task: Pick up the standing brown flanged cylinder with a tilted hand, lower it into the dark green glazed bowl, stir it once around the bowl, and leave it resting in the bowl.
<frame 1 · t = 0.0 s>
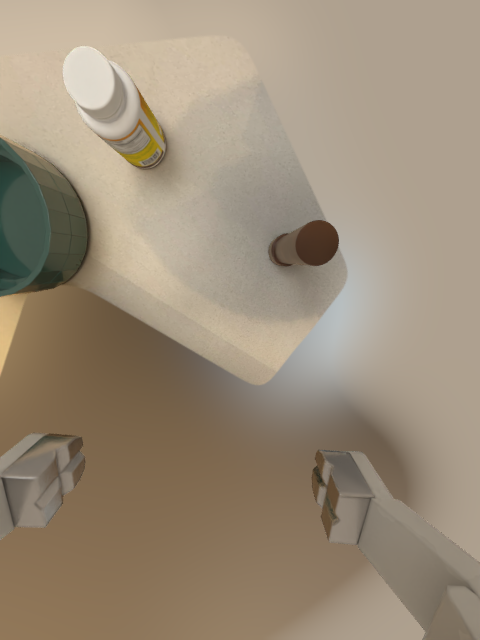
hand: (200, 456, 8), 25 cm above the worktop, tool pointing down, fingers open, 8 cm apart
bowl: (23, 224, 29), on the worktop
brown flanged cylinder: (282, 251, 30), on the worktop
supplement bottle: (144, 145, 27), on the worktop
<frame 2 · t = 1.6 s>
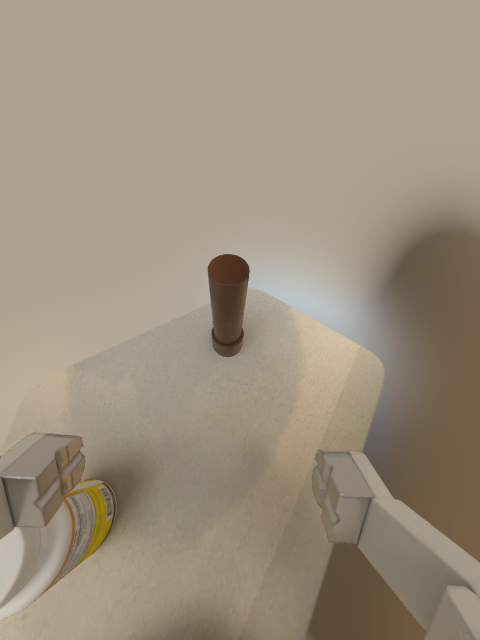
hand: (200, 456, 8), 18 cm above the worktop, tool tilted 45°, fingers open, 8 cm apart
brown flanged cylinder: (227, 343, 29), on the worktop
supplement bottle: (88, 515, 20), on the worktop
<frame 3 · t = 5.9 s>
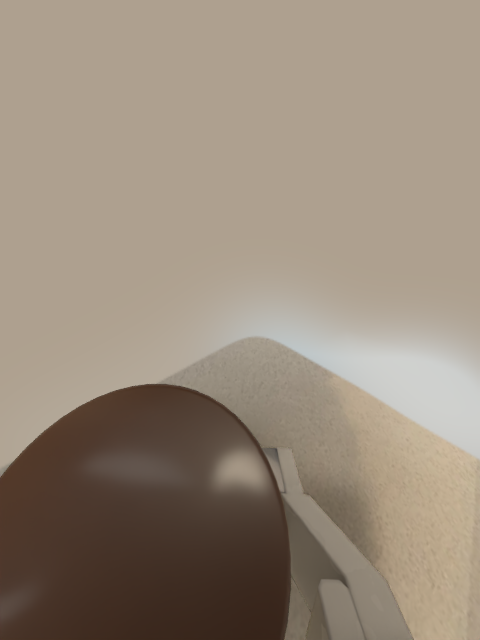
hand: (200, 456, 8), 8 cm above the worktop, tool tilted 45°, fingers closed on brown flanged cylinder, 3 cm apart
brown flanged cylinder: (212, 465, 14), on the worktop, touching gripper
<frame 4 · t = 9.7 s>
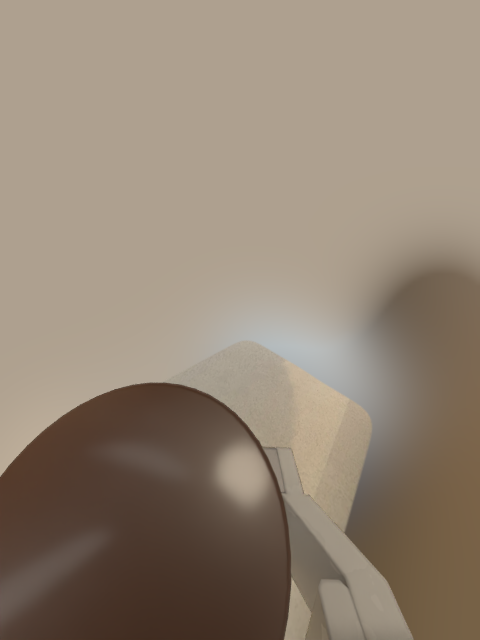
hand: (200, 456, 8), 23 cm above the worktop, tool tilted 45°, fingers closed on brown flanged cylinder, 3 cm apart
brown flanged cylinder: (212, 465, 14), point 16 cm above the worktop, touching gripper
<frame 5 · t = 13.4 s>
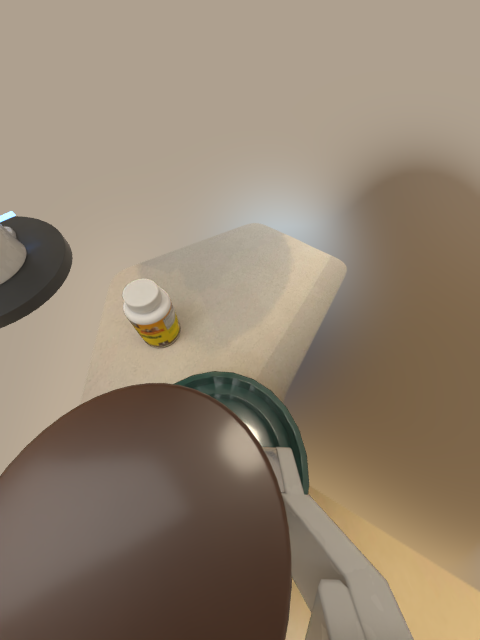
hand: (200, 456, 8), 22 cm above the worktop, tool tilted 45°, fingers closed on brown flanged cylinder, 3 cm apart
bowl: (217, 460, 26), on the worktop
brown flanged cylinder: (212, 465, 14), point 14 cm above the worktop, touching gripper
supplement bottle: (162, 332, 34), on the worktop
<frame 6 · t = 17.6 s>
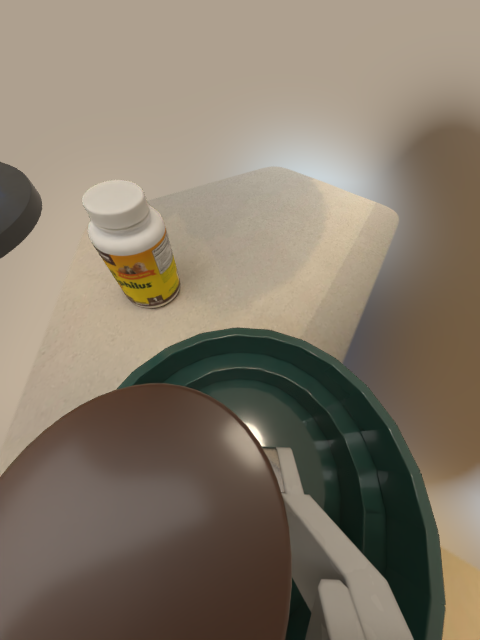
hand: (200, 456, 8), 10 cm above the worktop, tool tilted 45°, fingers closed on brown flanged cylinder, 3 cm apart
bowl: (241, 476, 16), on the worktop
brown flanged cylinder: (212, 465, 14), point 3 cm above the worktop, touching gripper
supplement bottle: (155, 290, 24), on the worktop
when the fingers open (8 cm above the worktop, at t = 20.9 s): brown flanged cylinder stays where it is, resting on bowl.
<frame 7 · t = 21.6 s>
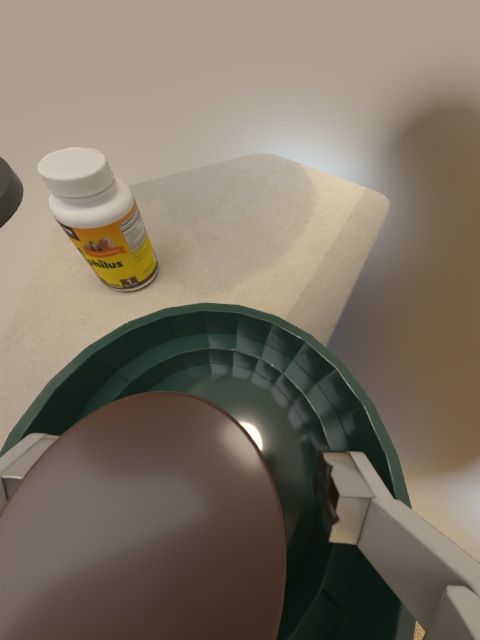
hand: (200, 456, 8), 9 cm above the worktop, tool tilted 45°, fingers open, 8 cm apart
bowl: (212, 464, 15), on the worktop
brown flanged cylinder: (212, 465, 14), point 1 cm above the worktop, touching bowl
supplement bottle: (132, 274, 23), on the worktop
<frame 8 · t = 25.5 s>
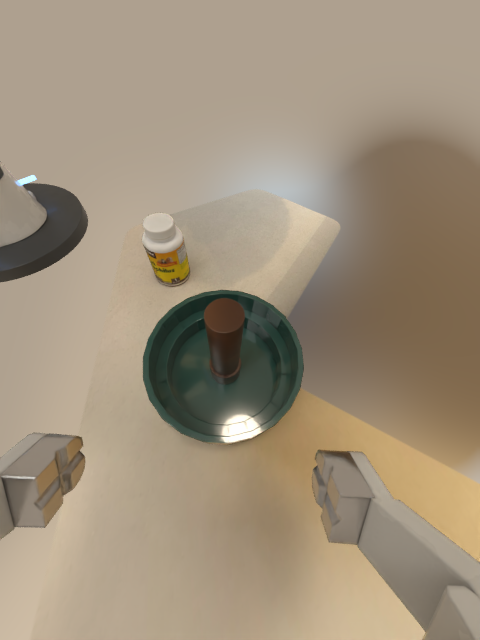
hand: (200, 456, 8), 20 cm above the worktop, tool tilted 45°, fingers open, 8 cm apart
bowl: (225, 371, 30), on the worktop
brown flanged cylinder: (225, 370, 30), point 1 cm above the worktop, touching bowl
supplement bottle: (174, 275, 38), on the worktop
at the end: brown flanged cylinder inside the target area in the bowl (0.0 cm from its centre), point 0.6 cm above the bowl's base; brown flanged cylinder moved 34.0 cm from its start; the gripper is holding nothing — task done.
